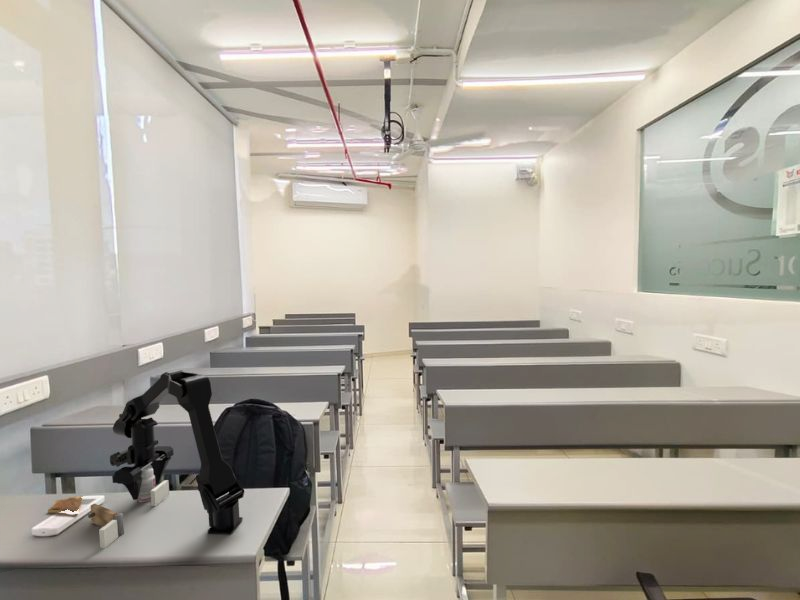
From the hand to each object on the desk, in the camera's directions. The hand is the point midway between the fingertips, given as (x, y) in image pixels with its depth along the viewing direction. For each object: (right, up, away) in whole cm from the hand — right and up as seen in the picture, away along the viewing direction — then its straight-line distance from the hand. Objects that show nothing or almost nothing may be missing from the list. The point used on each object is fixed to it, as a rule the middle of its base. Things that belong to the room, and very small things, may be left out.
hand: (146, 491), depth 123 cm
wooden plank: (-3, -3, -15) cm, 15 cm away
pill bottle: (0, -2, 0) cm, 2 cm away
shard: (-19, -4, -3) cm, 20 cm away
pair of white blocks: (+4, -3, -10) cm, 12 cm away
